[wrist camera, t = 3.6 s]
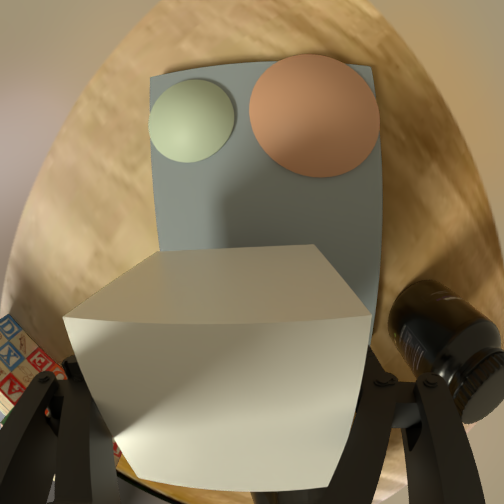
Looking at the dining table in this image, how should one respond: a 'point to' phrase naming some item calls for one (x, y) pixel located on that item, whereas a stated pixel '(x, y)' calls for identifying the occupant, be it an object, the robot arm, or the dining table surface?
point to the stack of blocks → (24, 368)
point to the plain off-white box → (226, 366)
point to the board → (271, 161)
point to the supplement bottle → (450, 346)
